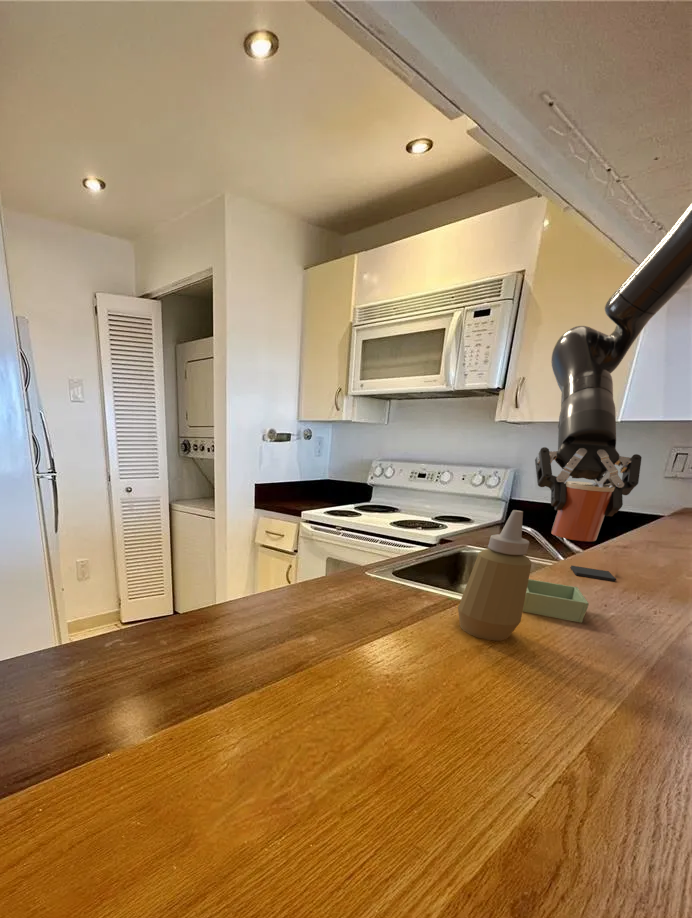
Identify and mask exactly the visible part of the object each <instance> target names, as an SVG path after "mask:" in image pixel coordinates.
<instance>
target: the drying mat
mask: <svg viewBox="0 0 692 918" xmlns="http://www.w3.org/2000/svg"><path fill="white" fill-rule="evenodd" d="M570 570H571V571H572V572H573V574H574V575H575V576H578V577H583V578H589V579H596V580H603V581H609V582H616V581H617V578H616V577H615V576H614V575H613V574H612V573H611V572H610V571H609V570H602V569H598V568H597V569H596V568H592V567H591V568H590V567H585V566H584V567H583V566H578V565H577V566H576V565H570Z"/></svg>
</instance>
